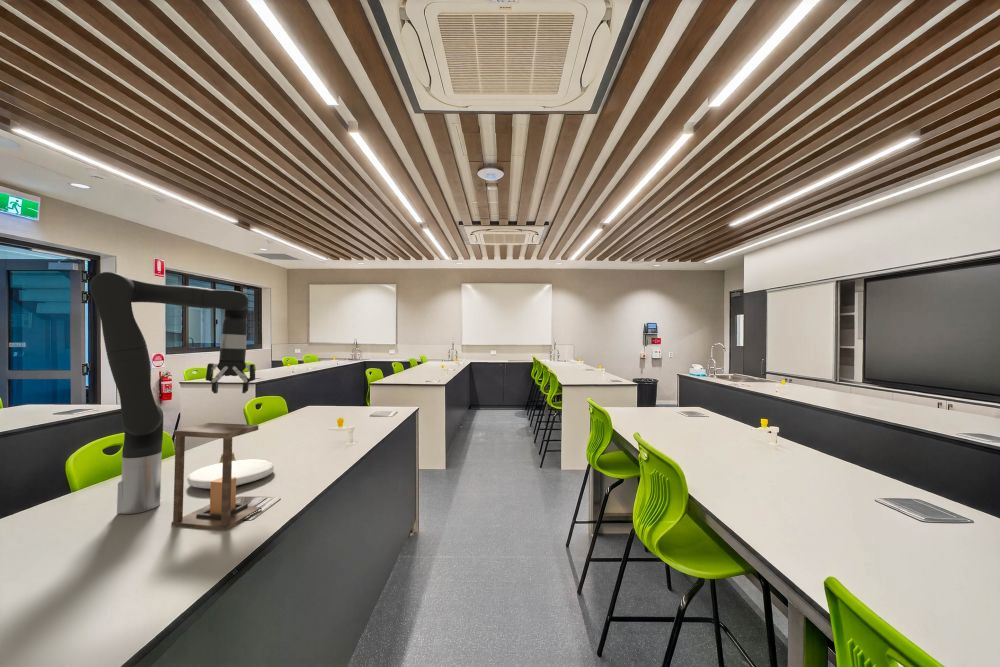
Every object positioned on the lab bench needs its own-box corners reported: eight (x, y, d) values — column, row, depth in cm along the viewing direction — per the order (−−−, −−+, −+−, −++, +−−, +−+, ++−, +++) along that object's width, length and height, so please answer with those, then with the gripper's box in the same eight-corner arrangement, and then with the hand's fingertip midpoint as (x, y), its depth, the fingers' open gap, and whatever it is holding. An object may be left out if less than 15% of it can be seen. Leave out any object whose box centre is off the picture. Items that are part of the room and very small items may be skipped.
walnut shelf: (212, 506, 122) (214, 421, 123) (261, 510, 119) (263, 423, 120) (171, 525, 109) (174, 430, 110) (225, 530, 106) (228, 433, 107)
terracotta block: (223, 508, 118) (223, 476, 119) (235, 509, 118) (236, 477, 118) (209, 514, 114) (210, 481, 114) (222, 516, 113) (223, 482, 113)
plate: (226, 456, 160) (288, 457, 159) (225, 472, 159) (287, 473, 158) (168, 471, 132) (242, 473, 132) (165, 491, 131) (240, 492, 131)
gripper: (205, 346, 128) (201, 394, 127) (254, 348, 133) (250, 394, 132) (212, 346, 135) (209, 392, 134) (259, 348, 140) (256, 391, 139)
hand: (230, 393), depth 133 cm, fingers open, 8 cm apart
